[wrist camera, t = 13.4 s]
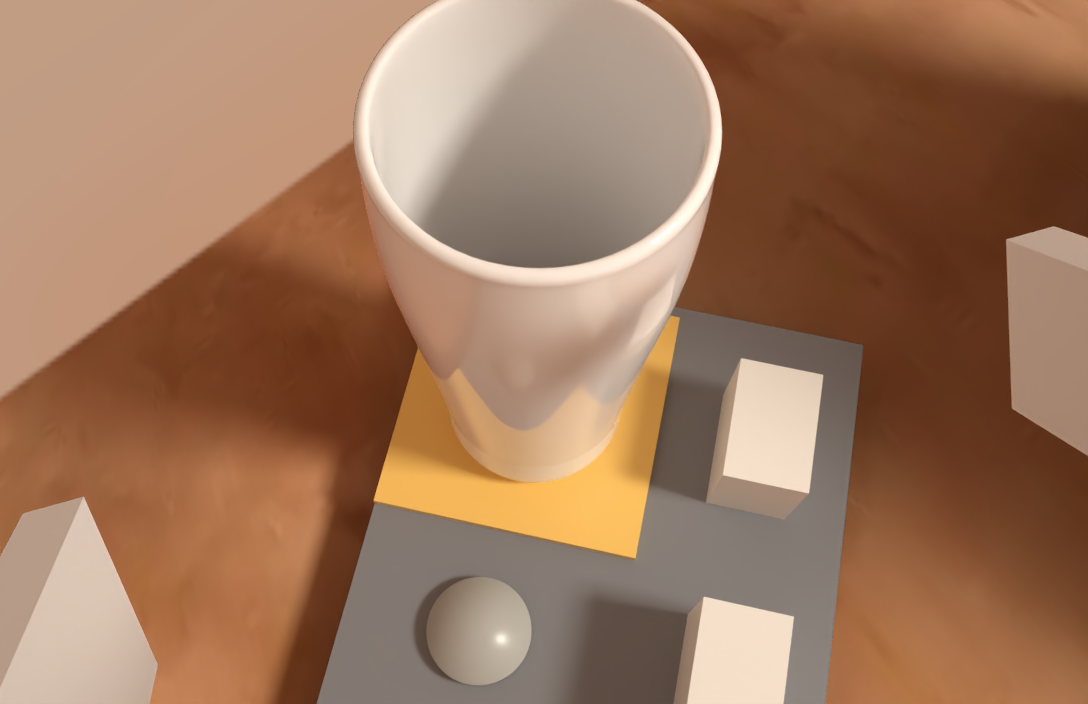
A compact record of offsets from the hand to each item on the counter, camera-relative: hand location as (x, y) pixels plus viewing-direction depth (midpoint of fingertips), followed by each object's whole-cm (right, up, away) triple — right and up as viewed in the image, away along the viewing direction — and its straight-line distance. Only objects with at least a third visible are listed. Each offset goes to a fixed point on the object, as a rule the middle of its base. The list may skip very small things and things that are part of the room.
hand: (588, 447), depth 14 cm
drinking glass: (-1, 0, +18) cm, 18 cm away
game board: (0, -8, +17) cm, 18 cm away
